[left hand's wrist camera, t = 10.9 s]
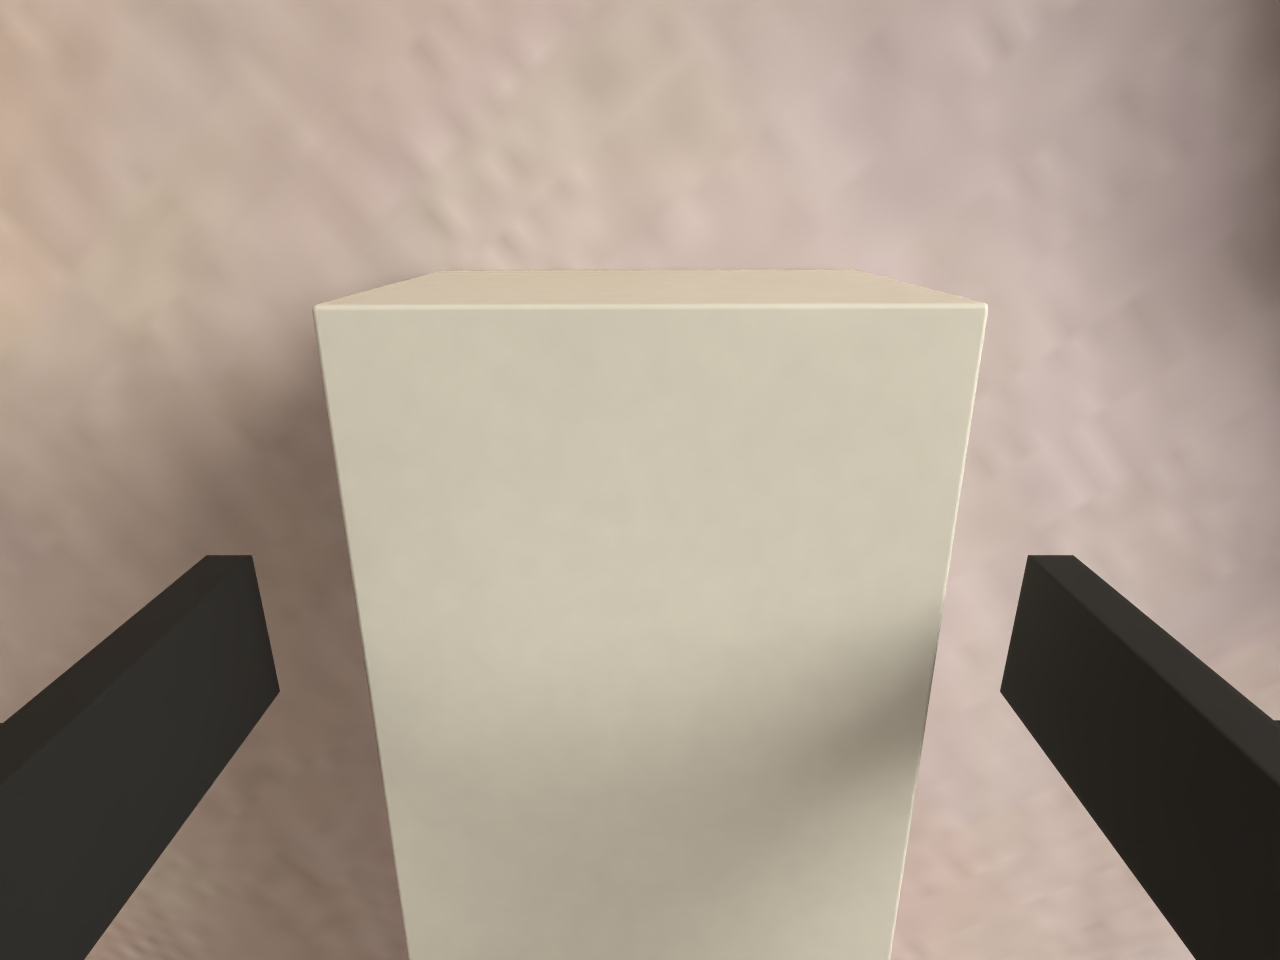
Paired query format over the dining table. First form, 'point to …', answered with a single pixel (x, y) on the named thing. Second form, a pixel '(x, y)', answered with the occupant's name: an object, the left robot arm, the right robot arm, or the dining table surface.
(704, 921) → the slab
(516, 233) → the dining table surface
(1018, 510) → the dining table surface
